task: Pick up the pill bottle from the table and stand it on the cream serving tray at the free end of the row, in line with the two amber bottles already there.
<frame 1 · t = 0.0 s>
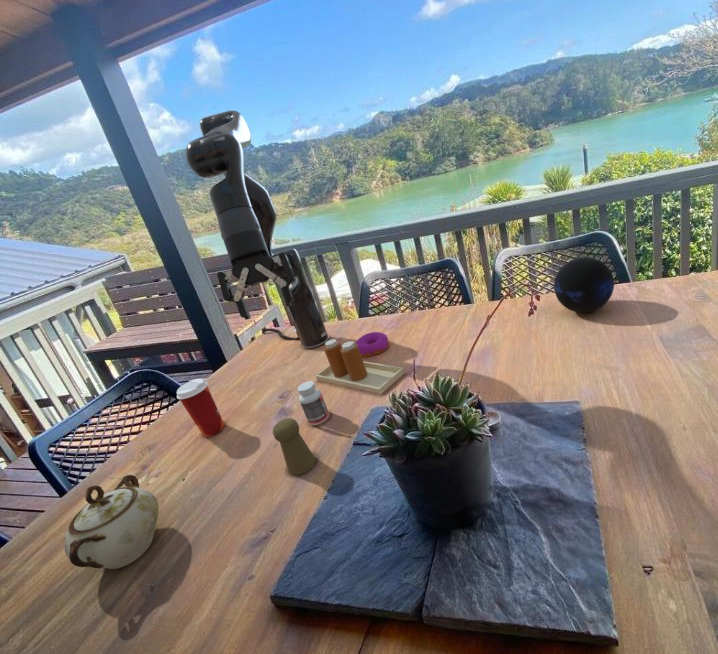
hand: (268, 312, 87), 31 cm above the table, tool tilted 20°, fingers open, 8 cm apart
amber bottle middle: (359, 376, 119), resting on tray
decorative sphere: (586, 310, 121), on the table
sugar bowl: (131, 549, 82), on the table
donut: (374, 350, 133), on the table
amber bottle far: (342, 373, 124), resting on tray
tray: (359, 377, 120), on the table
paper cup: (214, 430, 115), on the table
pill bottle: (319, 419, 106), on the table
olive green pawn: (302, 465, 92), on the table
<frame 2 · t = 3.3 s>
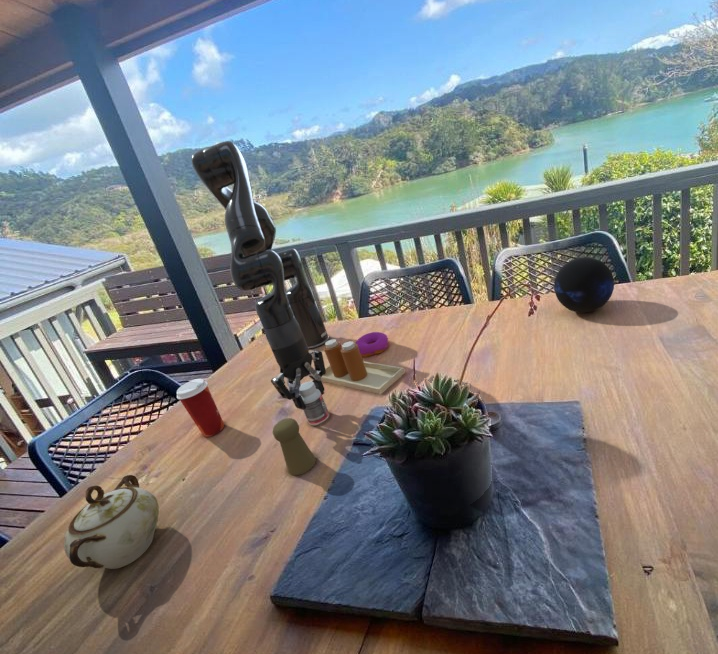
hand: (311, 400, 104), 5 cm above the table, tool pointing down, fingers closed on pill bottle, 5 cm apart
pill bottle: (319, 419, 106), on the table, touching gripper
everything else where it was.
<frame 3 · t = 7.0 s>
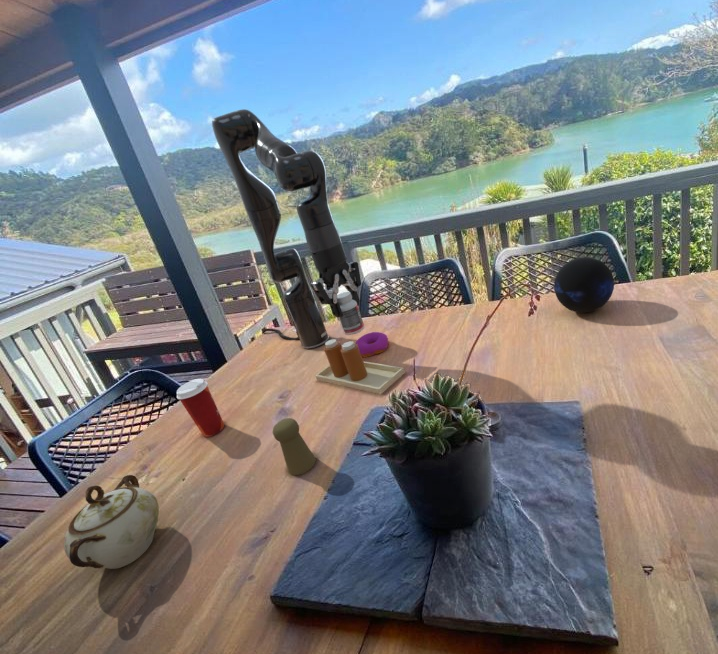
hand: (347, 310, 106), 22 cm above the table, tool pointing down, fingers closed on pill bottle, 5 cm apart
pill bottle: (354, 331, 108), point 16 cm above the table, touching gripper
everything else where it was.
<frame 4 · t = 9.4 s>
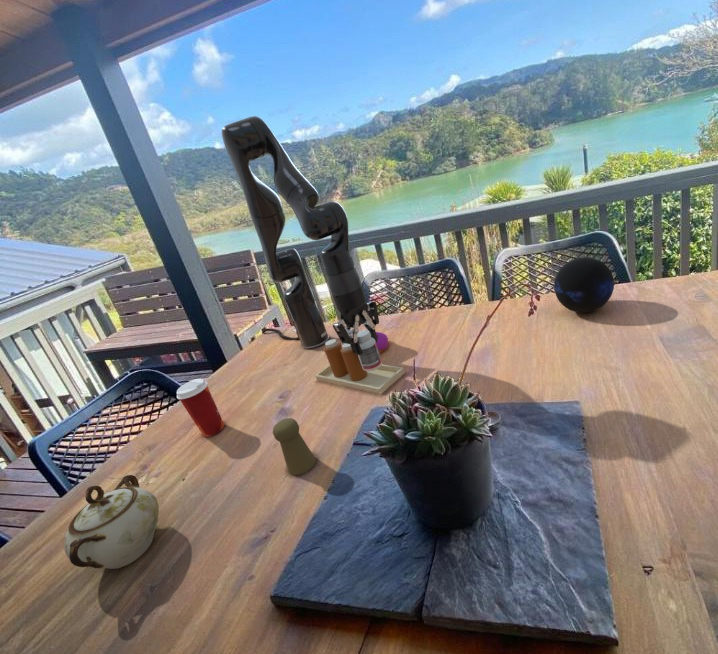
hand: (366, 348, 111), 10 cm above the table, tool pointing down, fingers closed on pill bottle, 5 cm apart
pill bottle: (372, 366, 113), point 5 cm above the table, touching gripper
everything else where it was.
when the fingers open (6 cm above the table, at t = 11.0 s): pill bottle stays where it is, resting on tray.
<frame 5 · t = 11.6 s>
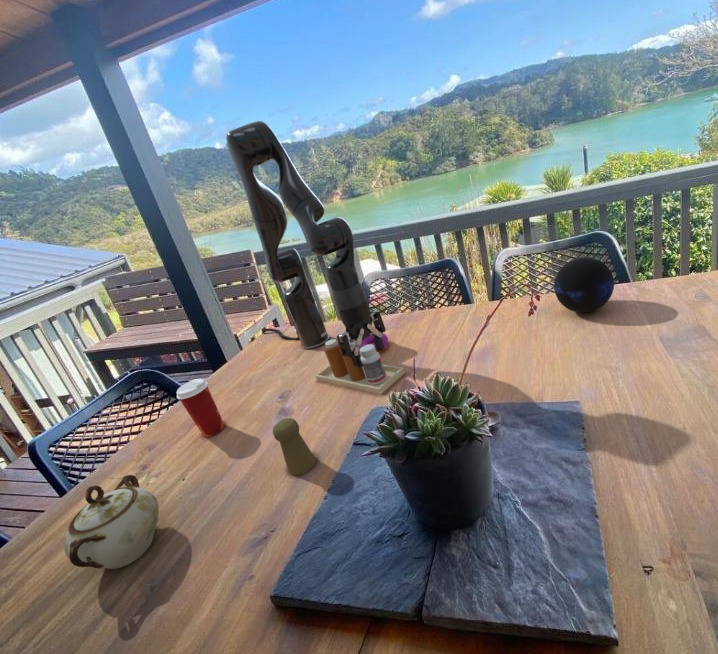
hand: (370, 358, 112), 7 cm above the table, tool pointing down, fingers open, 8 cm apart
pill bottle: (377, 380, 115), resting on tray
everything else where it was.
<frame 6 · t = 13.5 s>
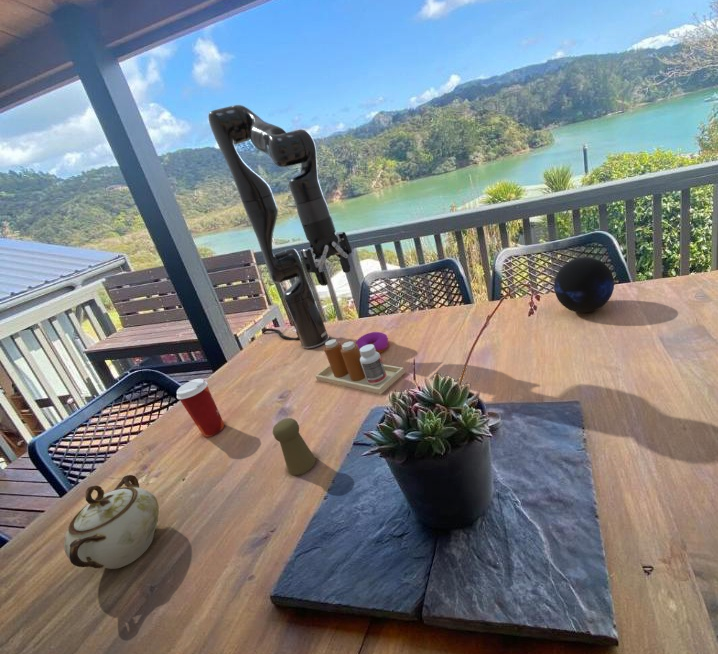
hand: (336, 278, 114), 27 cm above the table, tool pointing down, fingers open, 8 cm apart
nothing on the table moved.
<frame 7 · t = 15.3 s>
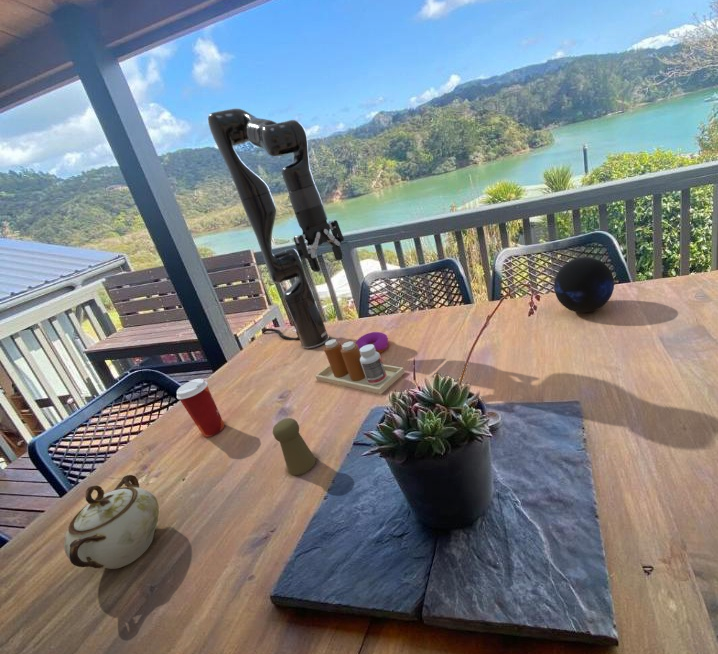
hand: (328, 265, 118), 30 cm above the table, tool pointing down, fingers open, 8 cm apart
nothing on the table moved.
at the end: pill bottle 0.1 cm from the target spot in the tray, point 0.3 cm above the tray's base; pill bottle tilted 0°; amber bottle middle moved 0.0 cm from its start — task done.
